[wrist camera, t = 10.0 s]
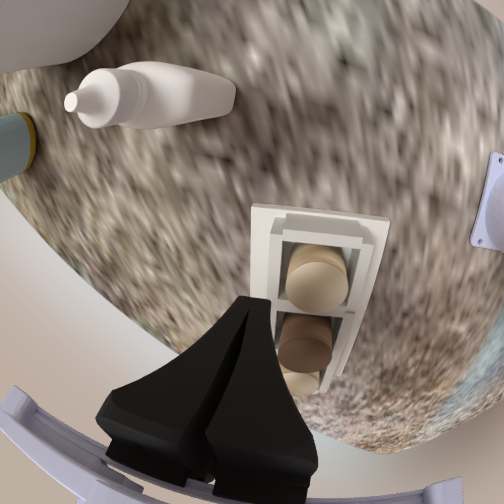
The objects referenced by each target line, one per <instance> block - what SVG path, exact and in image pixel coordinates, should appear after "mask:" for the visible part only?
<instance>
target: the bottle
mask: <svg viewBox="0 0 504 504" xmlns="http://www.w3.org/2000/svg"><path fill="white" fill-rule="evenodd" d="M36 142H37V140H36V132H35V128H34V125H33V123H32V121H31V119H30V118H29V117H27V116H26V115H25V114H24V113H22V112H17V113H12V114H9V115H5V116H2V117H0V183H1V182H3V181H5V180H7V179H9V178H11V177H13V176H15V175H17V174H20V173H22V172H23V171H25V170H27V169H28V168H29V167H30V165H31V163H32V160H33V158H34V156H35V152H36Z"/></svg>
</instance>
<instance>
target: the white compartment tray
mask: <svg viewBox="0 0 504 504" xmlns="http://www.w3.org/2000/svg"><path fill="white" fill-rule="evenodd" d="M389 226H390V221H389V219H388V218H386V217H379V216H372V215H364V214H356V213H348V212H340V211H331V210H322V209H313V208H303V207H293V206H282V205H271V204H259V203H253V205H252V206H251V278H250V297H255V298H263V299H269V300H270V301H271V302H272V303H271V317H270V319H271V329H272V335H273V341H274V345H275V350H276V354H278V348H279V342H280V336H281V330H282V323H283V317H284V314H285V312H292V313H301V314H311V315H320V316H331V329H332V360H331V362H330V364H329V365H328V366H327V367H326V368H324V369H322V370H320V371H319V386H318V389H317V390H316V391H315V392H314V393H312V394H318V392H322V393H326V392H327V389H328V387H329V384H330V382H331V379H332V377H333V376H341V374H342V372H343V369H344V367H345V365H346V362H347V360H348V357H349V355H350V352H351V350H352V347H353V344H354V342H355V339H356V336H357V334H358V331H359V328H360V325H361V323H362V320H363V317H364V314H365V311H366V308H367V305H368V302H369V299H370V296H371V293H372V289H373V286H374V283H375V279H376V276H377V273H378V269H379V265H380V262H381V258H382V254H383V250H384V247H385V243H386V239H387V234H388V230H389ZM295 242H299V243H309V244H318V245H327V246H336V247H341V248H342V251H343V256H344V262H345V268H346V274H347V281H348V293H347V296H346V298H345V300H344V301H343V302H342V304H341V305H339V306H338V307H337V308H335V309H333V310H331V311H329V312H325V313H308V312H304V311H302V310H300V309H298V308H296V307H295V306H294V305H293V304H292V303H291V302H290V301H289V299H288V297H287V295H286V290H285V286H286V280H287V273H288V267H289V260H290V253H291V249H292V247H293V245H294V244H295Z"/></svg>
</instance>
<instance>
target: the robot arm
mask: <svg viewBox="0 0 504 504" xmlns="http://www.w3.org/2000/svg"><path fill="white" fill-rule="evenodd" d="M499 158H500V162H499ZM479 239H480V241H479V242H478V240H479ZM470 243H471V244H472V246H476V247H482V248H488V249H493V250H499V251H502V252H503V254H504V155H502V154H500V153H497V152H492V153H491V155H490V160H489V166H488V171H487V176H486V181H485V186H484V190H483V194H482V198H481V202H480V206H479V210H478V214H477V217H476V221H475V224H474V227H473V230H472V234H471V237H470ZM271 303H272V302H271V301H270V300H269V299H263V298H255V297H247V296H238V297H237V298H236V300H235V301H234V302H233V304H232V305H231V306H230V307H229V309H228V310H227V311H226V312H225V313H224V314H223V316H222V317H221V318H220V319H219V320H218V321H217V322H216V323H215V324H214V325H213V326H212V327H211V328H210V329H209V330H208V331H207V332H206V333H205V334H204V335H203V336H202V337H201V338H200V339H199V340H198V341H196V342H195V343H194V344H193V345H192V346H191V347H189V348H188V349H187V350H186V351H184V352H183V353H182V354H180V355H179V356H178V357H176V358H175V359H173V360H172V361H170V362H169V363H167V364H166V365H164V366H162V367H161V368H159V369H157V370H156V371H154V372H152V373H150V374H148V375H146V376H144V377H143V378H141V379H139V380H137V381H134V382H132V383H130V384H127V385H125V386H123V387H120V388H117V389H115V390H112V391H111V393H110V394H109V395H108V397H107V398H106V400H105V402H104V403H103V405H102V407H101V408H100V410H99V412H98V414H97V416H96V422H97V424H98V425H99V426H100V427H101V428H102V429H103V430H104V431H105V432H106V433H107V434H108V435H109V436H110V437H111V438H112V441H111V443H110V445H109V447H106V446H104V445H102V444H100V443H98V442H97V441H94V440H93V439H91V438H89V437H87V436H85V435H84V434H82V433H80V432H78V431H76V430H75V429H73V428H71V427H70V426H68V425H66V424H64V423H63V422H61V421H60V420H58V419H56V418H55V417H54V416H52V415H51V414H49V413H48V412H46V411H44V410H43V409H42V408H40V407H39V406H38V405H37V403H36V402H35V401H34V400H33V399H32V398H31V397H30V396H29V395H27V394H26V393H25V392H24V391H22V390H21V389H20V388H18V387H17V386H16V385H14V386H13V388H12V389H11V391H10V392H9V393H8V395H7V396H6V398H5V400H4V401H3V402H2V404H1V405H0V429H1V431H2V432H3V433H4V434H5V435H6V436H7V437H9V439H10V440H12V442H13V443H14V444H15V445H17V447H19V448H20V449H21V450H22V451H23V452H24V453H25V454H26V455H27V456H28V457H29V458H30V459H31V460H32V461H33V462H35V463H36V464H37V465H38V466H39V467H40V468H42V469H43V470H44V471H45V472H46V473H48V474H49V475H50V476H51V477H53V478H54V479H55V480H56V481H58V482H59V483H60V484H62V485H63V486H64V487H66V488H67V489H68V490H70V491H71V492H73V493H74V494H76V495H77V496H78V497H79V498H78V501H77V503H76V504H168V503H165V502H163V501H160V500H157V499H155V498H152V497H149V496H147V495H144V494H142V492H143V489H144V488H143V487H142V486H140V485H138V484H136V483H134V482H133V481H131V480H129V479H128V478H127V477H125V476H124V475H122V474H121V473H119V472H117V471H115V470H113V469H111V468H109V467H108V465H111V466H113V467H115V468H117V469H119V470H121V471H123V472H125V473H128V474H130V475H132V476H135V477H137V478H139V479H142V480H144V481H147V482H149V483H152V484H154V485H157V486H160V487H163V488H166V489H168V490H172V491H174V492H178V493H181V494H184V495H188V496H191V497H195V498H198V499H202V500H205V501H209V502H214V503H218V504H463V486H462V477H461V476H458V477H455V478H452V479H448V480H444V481H440V482H437V483H434V484H431V485H429V486H427V487H425V488H424V489H420V490H416V491H410V492H404V493H397V494H390V495H382V496H372V497H360V498H334V499H333V498H332V499H331V498H306V497H307V490H308V488H309V486H310V479H311V476H312V475H313V474H314V472H315V471H316V470H317V468H318V456H317V450H316V447H315V443H314V439H313V435H312V433H311V432H310V430H309V428H308V427H307V425H306V423H305V422H304V420H303V418H302V416H301V414H300V413H299V411H298V409H297V407H296V405H295V403H294V400H293V398H292V396H291V394H290V391H289V389H288V387H287V384H286V382H285V379H284V376H283V374H282V371H281V368H280V364H279V361H278V357H277V354H276V350H275V345H274V341H273V335H272V329H271V319H270V317H271ZM107 464H108V465H107ZM214 479H215V480H216V481H215V484H214V485H212V484H208V483H210V482H211V481H213V480H214Z"/></svg>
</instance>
